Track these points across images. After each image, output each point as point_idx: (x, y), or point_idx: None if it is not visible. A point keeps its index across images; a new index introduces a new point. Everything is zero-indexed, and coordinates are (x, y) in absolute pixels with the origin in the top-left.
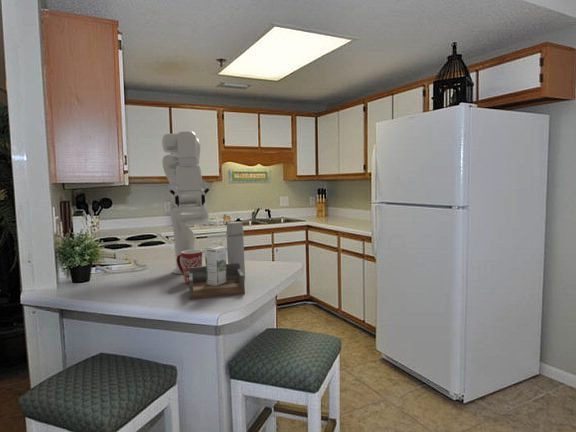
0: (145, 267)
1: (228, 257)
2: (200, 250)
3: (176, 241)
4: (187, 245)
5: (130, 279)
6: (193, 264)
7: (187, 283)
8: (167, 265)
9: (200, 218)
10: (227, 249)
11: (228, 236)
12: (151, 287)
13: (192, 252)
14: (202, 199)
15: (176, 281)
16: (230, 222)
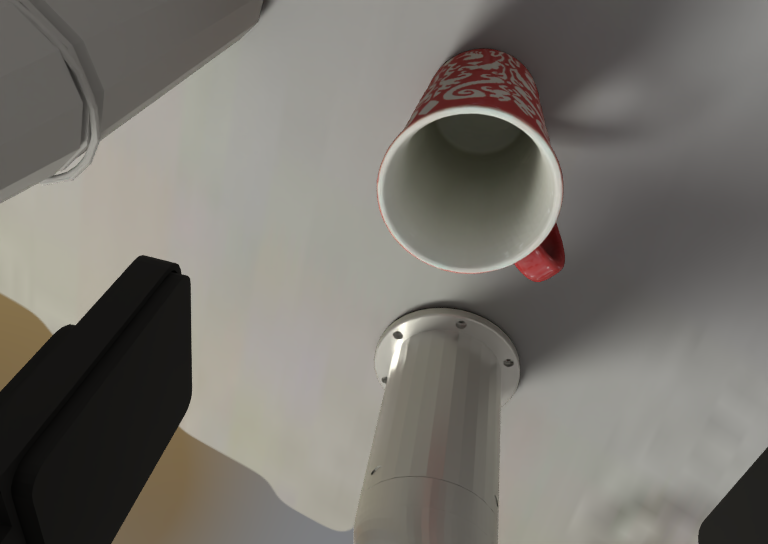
0: (599, 535)
1: (197, 15)
2: (388, 211)
3: (491, 504)
4: (426, 446)
5: (763, 378)
6: (486, 82)
7: (530, 74)
8: None
9: None
10: (170, 46)
11: (83, 44)
12: (751, 134)
13: (447, 249)
14: (82, 357)
15: (564, 187)
16: None
